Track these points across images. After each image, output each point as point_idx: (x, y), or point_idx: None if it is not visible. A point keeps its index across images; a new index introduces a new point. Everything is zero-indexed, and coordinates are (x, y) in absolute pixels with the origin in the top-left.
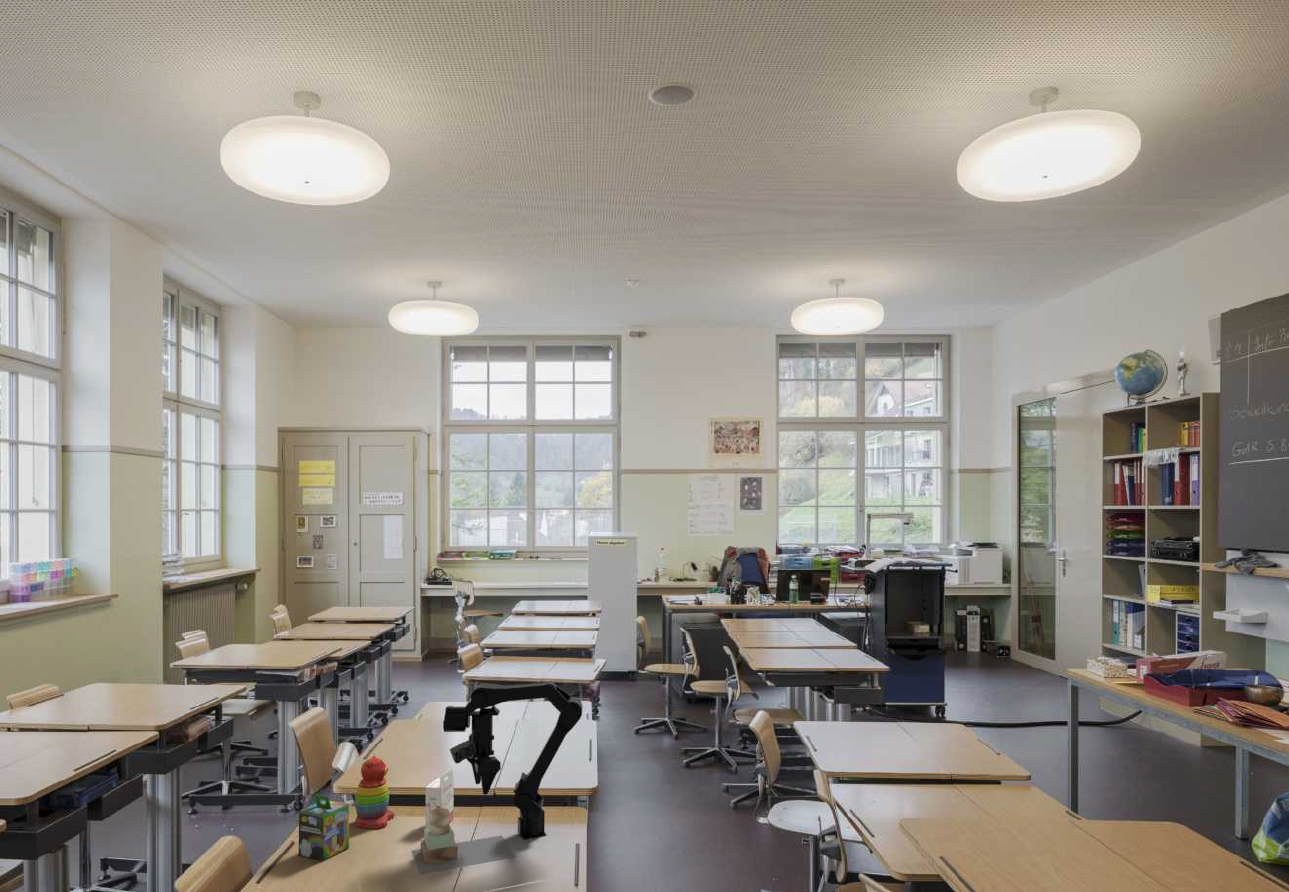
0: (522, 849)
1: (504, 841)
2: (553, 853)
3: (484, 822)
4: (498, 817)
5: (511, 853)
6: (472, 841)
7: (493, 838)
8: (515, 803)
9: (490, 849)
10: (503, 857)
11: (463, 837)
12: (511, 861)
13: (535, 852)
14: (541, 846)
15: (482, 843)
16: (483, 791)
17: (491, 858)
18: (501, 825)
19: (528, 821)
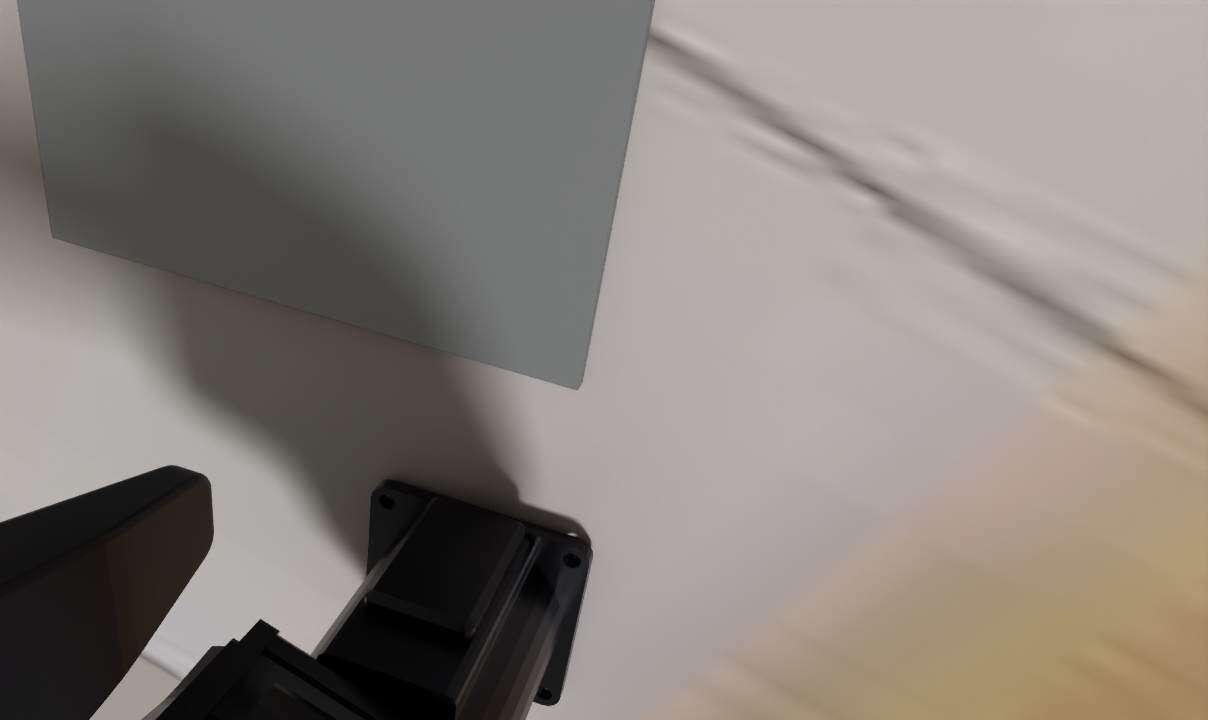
0: (224, 371)
1: (415, 332)
2: (75, 494)
3: (1117, 462)
4: (1118, 633)
5: (127, 240)
6: (604, 47)
7: (546, 287)
8: (251, 717)
9: (287, 118)
10: (64, 134)
11: (864, 25)
12: (19, 168)
13: (132, 414)
14: (224, 507)
15: (484, 123)
16: (81, 504)
17: (72, 18)
18: (874, 536)
19: (330, 634)
